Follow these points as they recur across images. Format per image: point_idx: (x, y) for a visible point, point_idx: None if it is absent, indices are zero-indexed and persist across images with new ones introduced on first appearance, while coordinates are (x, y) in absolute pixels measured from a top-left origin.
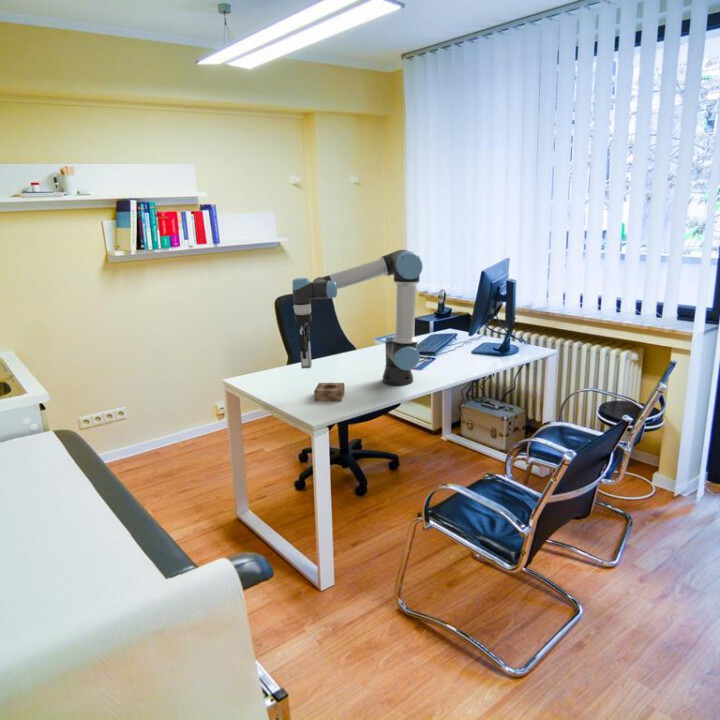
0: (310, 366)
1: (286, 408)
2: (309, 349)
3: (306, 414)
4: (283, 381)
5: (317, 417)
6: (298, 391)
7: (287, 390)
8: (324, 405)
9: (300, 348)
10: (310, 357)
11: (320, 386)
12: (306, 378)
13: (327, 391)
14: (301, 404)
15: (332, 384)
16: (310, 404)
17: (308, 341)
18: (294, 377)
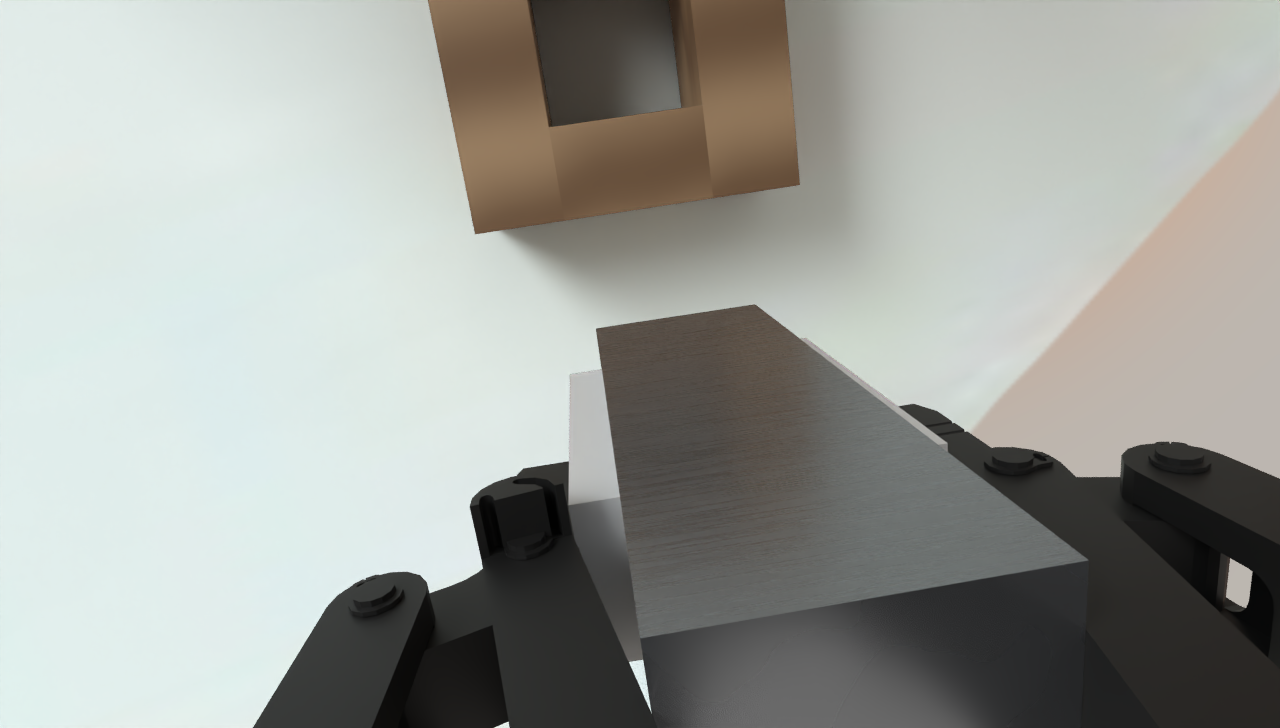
0: (721, 314)
1: (971, 385)
2: (803, 438)
3: (1120, 142)
4: (205, 720)
5: (1200, 2)
6: (479, 462)
7: (473, 574)
8: (863, 40)
9: (1263, 640)
10: (690, 367)
11: (622, 162)
12: (16, 547)
13: (782, 10)
14: (855, 290)
15: (508, 20)
16: (847, 201)
17: (852, 636)
18: (31, 675)
